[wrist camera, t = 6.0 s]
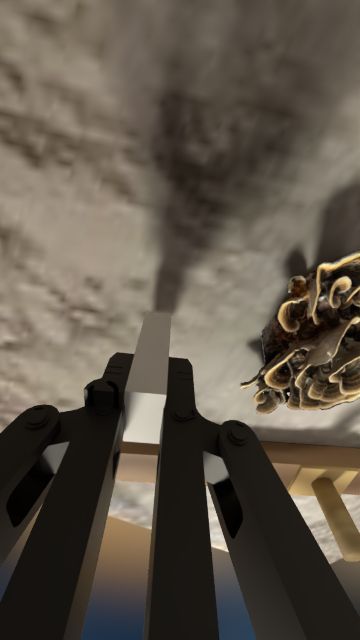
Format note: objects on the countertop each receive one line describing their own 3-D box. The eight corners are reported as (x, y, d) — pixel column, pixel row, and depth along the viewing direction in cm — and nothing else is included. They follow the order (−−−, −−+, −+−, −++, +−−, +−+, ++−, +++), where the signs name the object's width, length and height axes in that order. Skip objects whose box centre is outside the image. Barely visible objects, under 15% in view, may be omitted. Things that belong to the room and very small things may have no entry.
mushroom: (299, 234, 14) (343, 252, 10) (406, 269, 15) (481, 296, 12) (224, 384, 20) (235, 430, 16) (307, 401, 21) (335, 449, 17)
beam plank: (112, 430, 22) (84, 529, 15) (427, 452, 24) (519, 550, 17) (112, 458, 24) (88, 557, 17) (404, 477, 25) (479, 573, 19)
